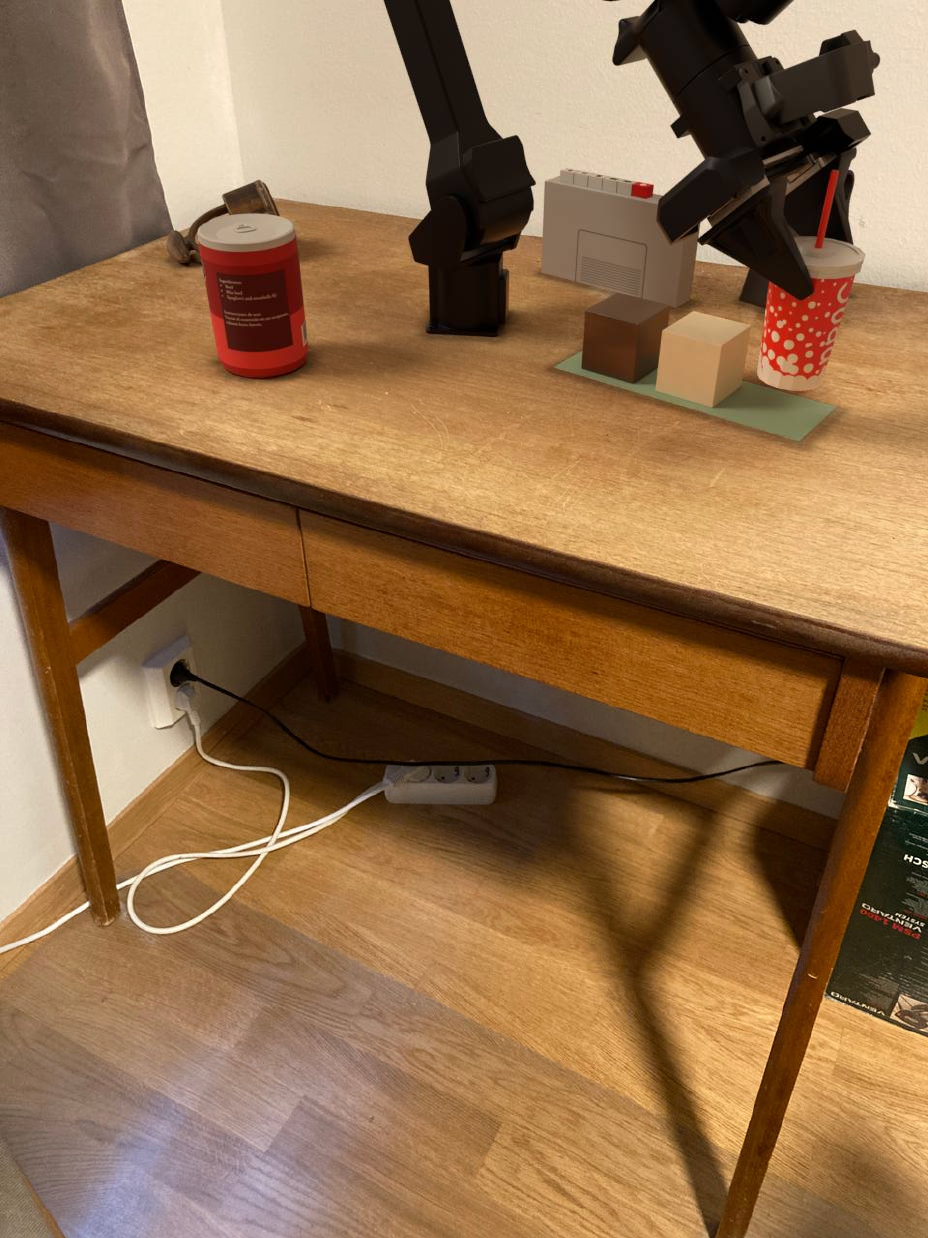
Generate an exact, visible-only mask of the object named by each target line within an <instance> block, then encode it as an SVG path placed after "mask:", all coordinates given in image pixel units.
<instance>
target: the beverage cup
mask: <svg viewBox="0 0 928 1238" xmlns="http://www.w3.org/2000/svg"><path fill="white" fill-rule="evenodd" d="M838 174H839V170H832V171H831V175H830V180H829V184H828V189H827V193H826V198H825V202H824V207H823V212H822V216H821V221H820V225H819V230H818V234H817V237H812V236H796V237H794V240H795V242H796V244H797V246H798V249H799V251H800V253H801V255H802V258H803V260H804V262H805V265H806V267H807V269H808V272H809V274H810V277H811V280H812V283H813V286H814V288H815V292H814V293H813V294H812V295H811V296H809V297H807V298H806V299H804V300H802V301H800V300H798V299H796V298H795V297H793V296H792V295H790V294H789V293H787V292H785V291H784V290H782V289H781V288H779V287H778V286H776V285H775V284H773V283H772V282H770V281H769V287H768V295H767V302H766V309H765V310H764V311H765V312H764V317H763V318H764V319H763V325H762V333H761V342H760V347H759V354H758V355H759V357H758V363H757V371H756V375H757V376H758V379H759V380H760V381H761V382H763V383H765V385H768V386H771V387H774V388H777V389H781V390H786V391H809V390H813V389H816V388H818V387H819V386H822V383H823V380H824V376H825V373H826V370H827V367H828V363H829V360H830V359H831V358H830V357H831V354H832V351H833V347H834V344H835V341H836V338H837V335H838V332H839V329H840V325H841V323H842V319H843V315H844V314H845V313H844V312H845V310H846V306H847V303H848V300H849V298H850V293H851V290H852V287H853V283H854V280H855V278H856V275H857V274H860V273H861V271H862V267H863V264H864V261H865V257H866V253H865V252H864V251H863V250H862V249H861V247H859V246H856V245H855V244H854V245H852V244H850V243H847V242H843V241H839V240H835V239H830V238H824V237H825V232H826V228H827V223H828V219H829V214H830V210H831V205H832V201H833V197H834V192H835V188H836V183H837V179H838Z"/></svg>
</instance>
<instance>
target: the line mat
mask: <svg viewBox="0 0 928 1238" xmlns="http://www.w3.org/2000/svg"><path fill="white" fill-rule="evenodd" d="M581 364H582V350H581V351H580V350H579V352H577V353H576V354H573V355H572V356H570V357H568V358H566V359H565V360H563V361H561V362H560V363H558V364H557V365H555V366H553V368H554V369H556V370H557V369H558V370H561V371H564V372H567V373H571V374H575V375H578V376H581V377H583V378H587V379H591V380H594V381H598V382H600V383H604V384H608V385H610V386H613V387H617V388H620V389H623V390H626V391H631V392H634V393H637V394H640V395H643V396H646V397H650V398H654V399H657V400H660V401H663V402H667V403H670V404H673V405H677V406H680V407H683V408H687V409H690V410H693V411H696V412H699V413H702V414H706V415H710V416H713V417H716V418H720V419H723V420H727V421H730V422H733V423H736V424H740V425H743V426H746V427H748V428H749V427H750V428H753V429H756V430H760V431H761V432H766V433H769V434H772V435H776V436H780V437H781V438H786V439H789V440H792V441H796V442H799V443H800V442H802V440H804V439H805V438H806V437H807V436H808V435H809V434H810V433H812V431H813V430H814V429H815V428H817V427H818V425H820V424H821V423H822V422H823V421H824V420H825V419H827V418H828V417H829V416H830V415H831V414H832V413H833V412H834V411H836V409H838V406H836V405H831V404H829V403H824V402H821V401H817V400H814V399H811V398H806V397H803V396H800V395H796V394H792V393H789V392H785V391H782V390H778V389H774V388H770V387H767V386H763V385H760V384H756V383H753V382H749V381H745V380H742V385H741V386H740V387H739V388H738V389H736V390H735V391H734V392H732V393H731V394H730V395H728V396H727V397H726V398H725V399H723V400H722V401H721V402H719V403H718V404H717V405H715V406H714V407H713V408H711V407H708V406H704V405H701V404H698V403H694V402H691V401H688V400H684V399H681V398H678V397H674V396H671V395H667V394H664V393H661V392H657V391H655V390H656V381H657V373H658V368H657V369H655V370H654V371H652V372H651V373H649V374H648V375H646V376H645V377H643V378H641V379H640V380H638V381H637V382H635V383H634V384H631V383H628V382H625V381H621V380H618V379H614V378H611V377H608V376H604V375H601V374H598V373H594V372H591V371H588V370H584V369H581Z"/></svg>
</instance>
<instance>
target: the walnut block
mask: <svg viewBox="0 0 928 1238" xmlns="http://www.w3.org/2000/svg"><path fill="white" fill-rule="evenodd" d="M671 308H672V307H671V306H670V305H667V304H663V303H659V302H655V301H651V300H647V299H642V298H638V297H634V296H630V295H626V294H622V293H617V292H615V293H614V294H612V295H610V296H609V297H606V298H605V299H602V300H601V301H599V302H597V303H595V304H593V305H592V306H589V307H588V308H586V309H585V310H584V320H583V335H582V349H581V351H582V364H581V369H584V370H588V371H591V372H594V373H598V374H601V375H604V376H608V377H611V378H614V379H618V380H621V381H625V382H628V383H631V384H634V383H635V382H637V381H638V380H640V379H641V378H643V377H645V376H646V375H648V374H649V373H651V372H652V371H654V370H655V369H657V368H658V364H659V356H660V347H661V339H662V331H663V330H664V329H665V328H667V327H669V323H670V314H671Z"/></svg>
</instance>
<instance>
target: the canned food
mask: <svg viewBox="0 0 928 1238" xmlns="http://www.w3.org/2000/svg"><path fill="white" fill-rule="evenodd" d="M197 242H198V244H199V248H200V254H199V255H200V260H201V267H202V272H203V278H204V284H205V289H206V290H205V291H206V295H207V301H208V308H209V313H210V319H211V325H212V330H213V336H214V343H215V348H216V354H217V358H218V359H219V361H220V363H221V365H222V367H223V368H224V369H225V370H226V371H228V372H229V373H232V374H233V375H237V376H241V377H245V378H256V379H257V378H272V377H273V378H274V377H278V376H282V375H287V374H289V373H291V372H294V371H295V370H297V369H299V368H300V367H302V366H303V365H304V364H305V362H306V361H307V356H308V352H309V340H308V333H307V322H306V312H305V311H306V310H305V302H304V292H303V284H302V282H303V281H302V273H301V264H300V254H299V246H298V238H297V232H296V226H295V224H294V222H293V221H291V220H290V219H288V218H285V217H282V216H281V215H280V216H275V215H269V214H237V215H229V214H228V215H223V216H219V217H216V218H214V219H211V220H210V221H208V222H207V223H205V224H203V225H202V226H200V227H199V229H198V232H197Z"/></svg>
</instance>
